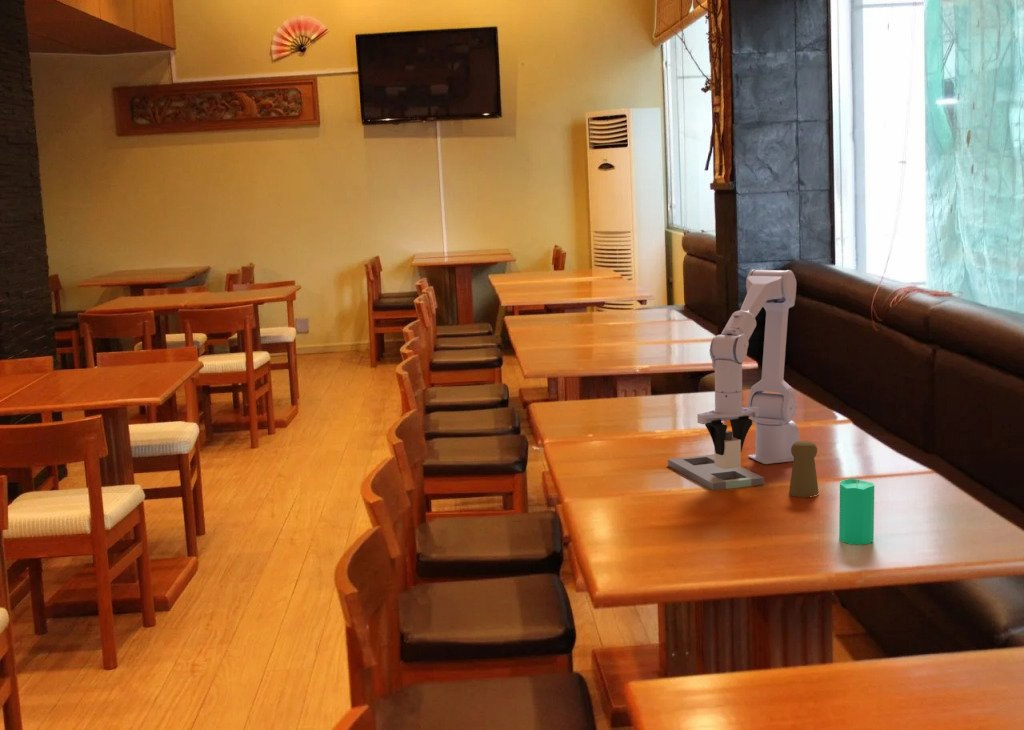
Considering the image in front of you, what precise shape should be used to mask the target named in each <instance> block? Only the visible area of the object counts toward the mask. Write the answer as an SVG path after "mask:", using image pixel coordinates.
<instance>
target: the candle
mask: <svg viewBox="0 0 1024 730" xmlns="http://www.w3.org/2000/svg"><path fill="white" fill-rule="evenodd" d="M838 514H839V523H838V524H839V525H838V527H839V529H838V530H839V531H838V538H839V541H840V542H842V543H844V542H845V543H844V544H847V543H848V545H853V546H855V545H856V544H858V545H856V546H862V544H865V545H869V544H868V543H870V544H872V543H873V542H874V535H875V533H874V531H875V527H874V525H875V521H874V520H875V484H874V483H873V482H869V481H865V480H861V479H858V474H857V475H856V479H855V478H847V479H843V480H840V481H839V513H838ZM872 541H873V542H872ZM871 542H872V543H871Z"/></svg>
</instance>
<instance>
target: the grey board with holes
mask: <svg viewBox="0 0 1024 730" xmlns="http://www.w3.org/2000/svg"><path fill="white" fill-rule="evenodd" d="M667 465H668V466H667V467H670V468H672V469H673V470H675V471H677V472H679V473H681V474H682V475H685V476H686V477H688V478H689V479H691V480H693V481H695V482H697V483H698V484H701V485H702V486H703V487H706V488H707V489H709V490H711V491H721V490H727V489H728V490H730V489H735V488H736V489H738V488H745V487H746V488H747V487H755V486H763V485H765V477H763V476H762V475H760V474H757V473H755V472H753V471H751V470H749V469H747V468H745V467H743V466H741V467H737V468H731V469H723V468H720V467H717V466H715V465H714V453H713V454H704V455H697V456H695V455H694V456H686V457H678V458H677V457H676V458H667Z"/></svg>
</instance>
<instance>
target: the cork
mask: <svg viewBox="0 0 1024 730" xmlns="http://www.w3.org/2000/svg"><path fill="white" fill-rule="evenodd" d="M791 453H792V455H793V457H794V460H793V461H792V468H791V476H790V483H789V490H788V494H789V495H790V496H791V495H793V496H792V497H794V496H799V497H798V498H800V497H810V496H814V495H817V494H818V493H819V494H820V492H819V486H818V485H819V484H818V476H817V469H816V462H815V459H816V456H817V453H818V447H817V445H816V444H815V442H812V441H808V440H799V441H798V442H795V443H793V445H792V447H791Z"/></svg>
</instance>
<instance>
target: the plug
mask: <svg viewBox="0 0 1024 730" xmlns="http://www.w3.org/2000/svg"><path fill="white" fill-rule="evenodd" d="M713 448H714V453H713V454H714V465H715V466H717V467H720V468H723V469H731V468H737V467H742V466H741V465H742V464H741V463H742V460H741V459H742V458H741V456H742V455H741V453H742V452H741V440H740V439H737V438H734V437H733V434H732V431H730V430H729V431H727V430H726V434H725V442H724V455H719V454H716V452H715V447H713Z"/></svg>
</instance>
